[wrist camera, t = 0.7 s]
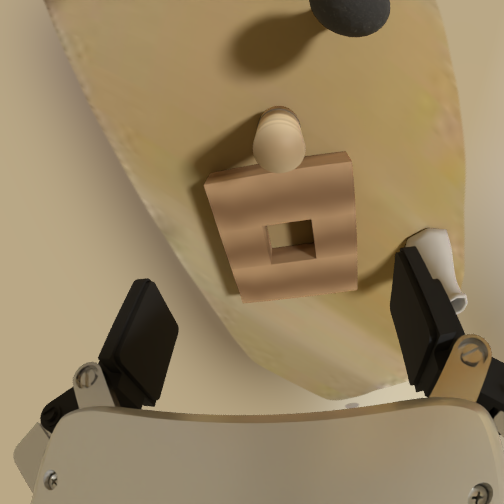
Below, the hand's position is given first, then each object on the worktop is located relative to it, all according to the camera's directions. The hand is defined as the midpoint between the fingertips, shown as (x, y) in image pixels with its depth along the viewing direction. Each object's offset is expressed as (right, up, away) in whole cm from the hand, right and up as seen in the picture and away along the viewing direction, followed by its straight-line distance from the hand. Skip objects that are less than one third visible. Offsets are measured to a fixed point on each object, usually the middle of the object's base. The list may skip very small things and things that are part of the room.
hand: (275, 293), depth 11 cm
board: (+3, +4, +23) cm, 24 cm away
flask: (+21, +2, +23) cm, 32 cm away
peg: (+2, +14, +16) cm, 21 cm away
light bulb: (+6, +23, +9) cm, 25 cm away
